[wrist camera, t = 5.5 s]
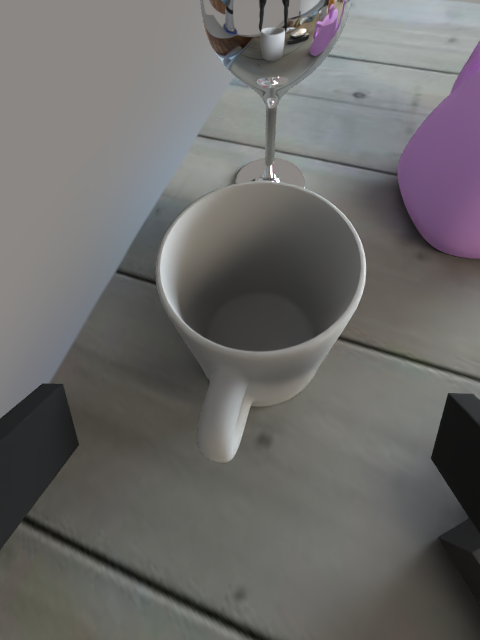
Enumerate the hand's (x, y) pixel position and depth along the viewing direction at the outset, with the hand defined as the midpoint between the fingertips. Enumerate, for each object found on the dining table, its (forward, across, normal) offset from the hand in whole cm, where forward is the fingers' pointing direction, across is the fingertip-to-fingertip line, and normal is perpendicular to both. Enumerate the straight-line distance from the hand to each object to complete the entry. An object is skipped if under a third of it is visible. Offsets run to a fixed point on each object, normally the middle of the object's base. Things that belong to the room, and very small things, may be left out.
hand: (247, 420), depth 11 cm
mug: (+10, 0, -4) cm, 11 cm away
